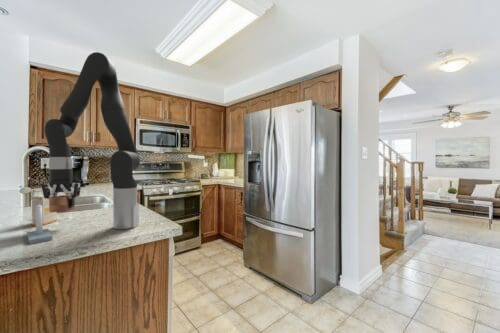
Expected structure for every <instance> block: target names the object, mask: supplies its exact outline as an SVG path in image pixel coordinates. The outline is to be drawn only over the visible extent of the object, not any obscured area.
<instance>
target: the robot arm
mask: <svg viewBox="0 0 500 333" xmlns="http://www.w3.org/2000/svg"><path fill="white" fill-rule="evenodd" d="M117 74H118V72H117V69H116V66H115V65H114V63H113V62H112V61H111V60H110V59H109V58H108V57H107V56H106V55H105V54H104V53H102V52H98V51H96V52H92V53H90V54H88V56H87V57H86V59H85V60H84V63H83V65H82V67H81V70H80V73H79V75H78V78H77V80H76V82H75V84H74V86H73V88H72V90H71V92H70V93H69V95H68V97H67V98H66V99H65V100H64V102H63V103H62V105H61V106H60V109H59V111H60V113H61V115H60V118H59V119H57V118H51V119H49V120H47V121H46V123H45V124H44V135H45V137H46V141H47V144H48V147H49V148H48V151H49V152H48V154H49V159H48V160H49V161H48V171H49V172H48V174H49V177H48V178H49V180H50V181H49V183H43V184H41V190H42V194H43V196H44V198H47V199H49V198H50V197H55V196H59V194H60V193H64V195H67V197H68V198H69V199H68V205H69V208H72V207H73V206H74V205H75V206H76V202H75V200H74V199H75V198H78V197H80V194H81V187H82V183H81V182H73V173H74V172H73V160H72V148H71V145H70V144H69V143H68V141H67V138H68V137H71V136H72V135H73V133H74V132H75V131H76V128H77V124H78V122H79V119H80V118H81V116H82V114H83V113H84V112H85V110H86V109H87V106H88V105H89V102H90V99H91V94H92V91H93V88H94V85H95V84H96V83H98V85H99V87H100V92H101V100H100V111H101V115H102V119H103V122H104V124H105V125H104V126H106V129H107V130H108V132H109V133H110V134H111V135H112V138H113V139H114V141H115V143H116V145H117V149H118V150H117V151H115V152H114V153H112V155H111V156H110V162H109V164H110V165H109V167H110V168H109V171H110V180H111V183H112V187H113V188H112V191H113V192H112V204H113V206H112V214H113V215H112V216H113V217H112V218H113V219H112V220H113V221H112V222H113V223H112V225H113V227H112V228H113V229H115V230H129V229H134V228H136V227H138V225H139V224H140V215H139V214H140V204H139V203H138V181H137V180H136V179H135V178H134V175H133V172H134V171H136V170H138V169H139V167H140V164H141V158H140V155H139V153H138V152H139V151H138V150H137V148H136V145H135V142H134V139H133V136H132V135H133V134H132V130H131V127H130V124H129V120H128V115H127V111H126V108H125V104H124V100H123V98H122V95H121V92H120V87H119V82H118V81H119V80H118V76H117ZM72 188H73V189H72Z"/></svg>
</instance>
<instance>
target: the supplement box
mask: <svg viewBox="0 0 500 333" xmlns="http://www.w3.org/2000/svg"><path fill="white" fill-rule="evenodd" d="M37 205H42V224H43V226H45V225H49V224H50V223H51V224H52V223H53V222H57V221H58V212H49V199H47V198H44V196H43V193H42V194H37V195H33V196H31V210H32V211H31V214H32V215H31V220H32V223H31V224H32V226H34V227H36V206H37Z"/></svg>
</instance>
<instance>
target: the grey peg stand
mask: <svg viewBox="0 0 500 333" xmlns="http://www.w3.org/2000/svg"><path fill="white" fill-rule="evenodd" d="M43 226H44V225H43V224H42V205H37V206H36V226H35V230H32V231H27V232H26V238H27V241H28V244H29V245H32V244H38V243H43V242H44V243H45V242H50V241H53V235H52V233H51V232H50V230H49V228H45V229H44V227H43Z"/></svg>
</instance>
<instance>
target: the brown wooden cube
mask: <svg viewBox="0 0 500 333" xmlns="http://www.w3.org/2000/svg"><path fill="white" fill-rule="evenodd" d="M68 199H69V198H68V197H67V195H66V194H63V195H59V194H58V195H57V196H55V197H50V198H49V212H57V213H66V212H69V211H73V210H75V209H76V204H75V205H74V206H73V207H72V208H69V205H68ZM74 200H75V199H74Z"/></svg>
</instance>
